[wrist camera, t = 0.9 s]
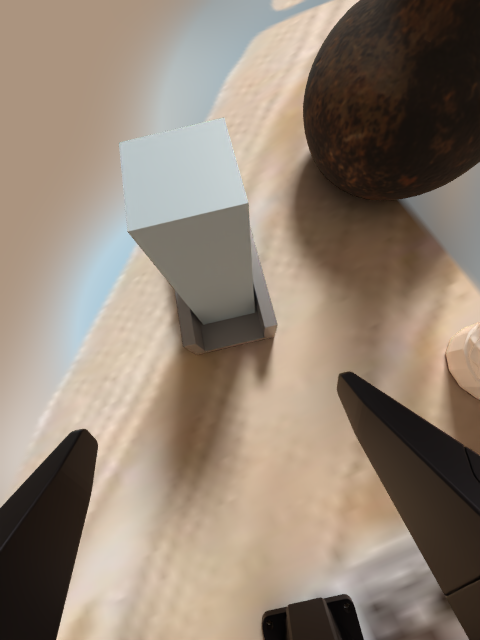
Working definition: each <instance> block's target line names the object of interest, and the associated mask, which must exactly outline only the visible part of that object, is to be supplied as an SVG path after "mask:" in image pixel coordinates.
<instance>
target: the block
mask: <svg viewBox="0 0 480 640" xmlns="http://www.w3.org/2000/svg"><path fill="white" fill-rule="evenodd" d="M119 147H120V158H121V168H122V179H123V190H124V200H125V211H126V221H127V232H128V233H129V234H130V235H131V236H132V238H133V239H134V240H135V241H136V243H137V244H138V245H139V246H140V248H141V249H142V250H143V251H144V252H145V254H146V255H147V256H148V257H149V259H150V260H151V261H152V262H153V264H154V265H155V266H156V267H157V268H158V270H159V271H160V272H161V273H162V275H163V276H164V277H165V278H166V279H167V281H168V282H169V283H170V284H171V286H172V287H173V288H174V289H175V291H176V292H177V293H178V294H179V295H180V297H181V298H182V299H183V300H184V302H185V303H186V304H187V305H188V306H189V308H190V309H191V310H192V311H193V313H194V314H195V315H196V316H197V318H198V319H199V320H200V321H201V322H202V324H203V325H205V324H209V323H213V322H218V321H222V320H226V319H230V318H235V317H239V316H243V315H248V314H252V313H255V308H254V291H253V274H252V256H251V239H250V222H249V204H248V200H247V196H246V193H245V189H244V186H243V182H242V179H241V175H240V171H239V168H238V164H237V161H236V157H235V154H234V150H233V147H232V143H231V140H230V136H229V133H228V129H227V126H226V122H225V119H224V118H219V119H215V120H211V121H207V122H203V123H199V124H195V125H191V126H186V127H182V128H178V129H174V130H170V131H166V132H161V133H158V134H154V135H149V136H145V137H141V138H137V139H133V140H129V141H124V142H120V143H119Z"/></svg>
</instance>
